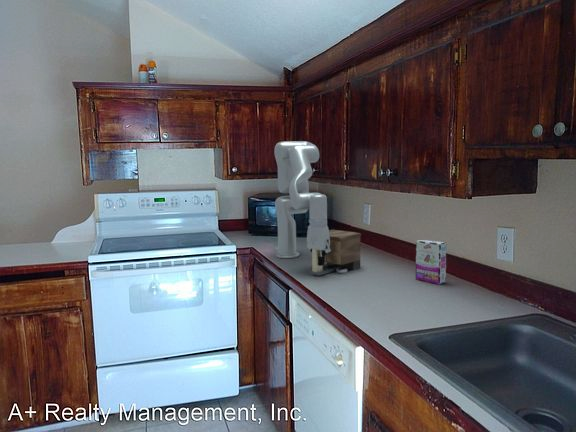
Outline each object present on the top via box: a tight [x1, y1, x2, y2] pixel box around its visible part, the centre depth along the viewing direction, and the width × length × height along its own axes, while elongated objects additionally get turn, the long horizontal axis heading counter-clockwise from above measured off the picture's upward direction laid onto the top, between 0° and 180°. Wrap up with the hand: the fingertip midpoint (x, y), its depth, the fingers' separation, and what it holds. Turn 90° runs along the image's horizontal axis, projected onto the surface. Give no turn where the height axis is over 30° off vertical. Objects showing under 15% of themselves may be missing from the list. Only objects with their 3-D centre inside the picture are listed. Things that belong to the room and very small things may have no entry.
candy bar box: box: [415, 239, 447, 285], centre depth 173 cm, size 11×5×16 cm, turn 40°
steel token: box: [335, 267, 348, 274], centre depth 192 cm, size 5×5×2 cm
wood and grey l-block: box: [311, 249, 341, 276], centre depth 191 cm, size 4×16×12 cm, turn 134°
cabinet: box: [322, 229, 362, 271], centre depth 197 cm, size 17×16×16 cm
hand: (319, 264), depth 187 cm, fingers closed on wood and grey l-block, 2 cm apart
